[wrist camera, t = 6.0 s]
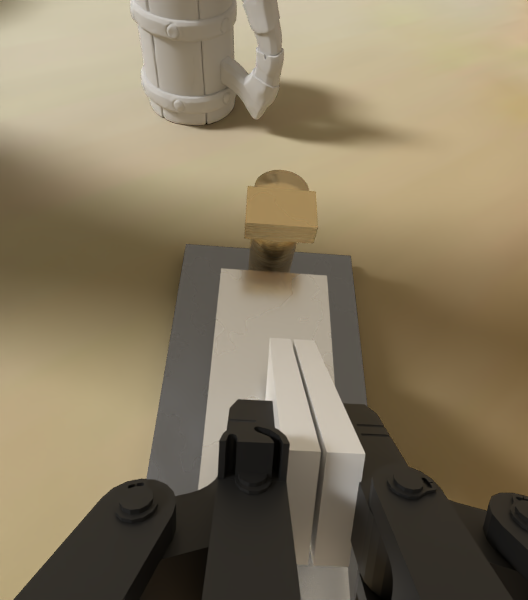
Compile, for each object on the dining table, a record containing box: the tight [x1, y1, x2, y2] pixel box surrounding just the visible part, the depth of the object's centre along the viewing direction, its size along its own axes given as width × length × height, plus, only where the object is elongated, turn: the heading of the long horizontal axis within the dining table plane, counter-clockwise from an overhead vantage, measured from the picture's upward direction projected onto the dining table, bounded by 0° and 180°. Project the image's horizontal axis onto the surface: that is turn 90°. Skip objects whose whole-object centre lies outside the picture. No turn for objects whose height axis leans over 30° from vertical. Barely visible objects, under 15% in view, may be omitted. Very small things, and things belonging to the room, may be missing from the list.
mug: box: [130, 0, 284, 125], centre depth 26 cm, size 8×12×12 cm, turn 57°
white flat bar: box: [198, 268, 350, 600], centre depth 13 cm, size 18×5×2 cm, turn 178°
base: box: [147, 170, 367, 600], centre depth 14 cm, size 24×10×7 cm, turn 178°
